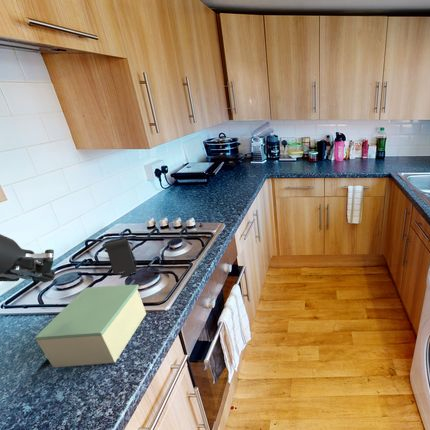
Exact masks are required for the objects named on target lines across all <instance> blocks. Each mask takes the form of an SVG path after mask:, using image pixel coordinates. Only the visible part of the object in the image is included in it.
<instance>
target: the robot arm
mask: <svg viewBox="0 0 430 430" xmlns="http://www.w3.org/2000/svg"><path fill="white" fill-rule="evenodd" d="M54 254H55V250H54V249H51V248H50V249H45V251H44V252H40V253H35V252H34V251H33V250H30V249H25V248H22V247H21V246H19V244H18V243H17V242H16V241H15V240H14V239H13V238H10V237H7V236H5V235H4V234H1V233H0V282H18V281H20V279H21V280H28V281H29V280H35V281H37V282H41V283H48V282H51V281H52V282H53V281H54V280H55V277H56V276H55V275H56V271H55V270H53V269H52V267H53V264H54Z"/></svg>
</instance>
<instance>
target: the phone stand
mask: <svg viewBox="0 0 430 430" xmlns="http://www.w3.org/2000/svg"><path fill="white" fill-rule="evenodd" d="M104 247H105V250H106V253H107V256H108V259H109V263H110V265H111V268H112V269H111V270H112V273H113V275H116V274H121V275H120V276H119V279H122V278H125V277H130V276H131V275H130V274H131V273H133V272H137V260H136V258H135V255H134V252H133V250H132V247H131V245H130V243H129V240H128V237H127V236H126V237H122V238H117V239H113V240H108V241H104ZM129 275H130V276H129Z"/></svg>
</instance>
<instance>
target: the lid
mask: <svg viewBox="0 0 430 430" xmlns="http://www.w3.org/2000/svg"><path fill="white" fill-rule="evenodd" d="M139 288H140V286H139V284H126V285H125V284H123V285H108V286H107V285H106V286H91V287H84V289H82V290H81V292H80V293H78V294H77V296H75V297H74V298H73V299H72V301H70V303H68V304H67V305H66V306H65V307H64V308H63V309H62V310H61V311H60V312H59V313H58V314H57V315H56V316H55V317H54V318H53V319H52V320H51V321H50V322H49V323H48V324H47V325H46V326H45V327H44V328H43V329H42V330H41V331H40V332H39V333H38V334H37V335H35V337H34V338H35V341H37V340H45V339H59V338H73V337H87V336H101V335H103V333H104V332H105V331H106V329H107V328H108V327H109V326H110V324H111V323H112V322H113V320H114V319H115V318H116V316H117V315H118V314H119V312H120V311H121V310H122V309H123V307H124V306H125V305H126V303H127V302H128V301H129V299H130V298H131V297H132V295H133V294H134V293H135V291H136V290H137V289H139Z"/></svg>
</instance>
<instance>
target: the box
mask: <svg viewBox="0 0 430 430" xmlns="http://www.w3.org/2000/svg"><path fill="white" fill-rule="evenodd" d="M138 289H139V288H138ZM138 289H137V290H136V291H135V293H134V294H133V295H132V297H131V298H130V299H129V301H128V302H127V303H126V305H125V306H124V307H123V309H122V310H121V311H120V312H119V314H118V315H117V316H116V318H115V319H114V320H113V322H112V323H111V324H110V326H109V327H108V328H107V329H106V331H105V332H104V333H103V335H101V336H87V337H73V338H59V339H45V340H36V342H37V344H38V345H39V347H40V349H41V350H42V352H43V354H44V355H45V357H46V358H47V360H48V362H49V363H50V365H51V366H52V368H53V369H54V368H66V367H80V366H92V365H93V366H94V365H103V364H105V365H107V364H115V363H116V362H117V361H118V359H119V358H120V356H121V354H122V353H123V352H124V349H125V348H126V346H127V345H128V344H129V342H130V340H131V338H132V337H133V336H134V334H135V332H136V331H137V329H138V328H139V327H140V324H141V323H142V321H143V320H144V318H146V317H145V316H146V315H147V311H146V309H145V306H144V303H143V301H142V297H141V295H140V292H139V290H138Z"/></svg>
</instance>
